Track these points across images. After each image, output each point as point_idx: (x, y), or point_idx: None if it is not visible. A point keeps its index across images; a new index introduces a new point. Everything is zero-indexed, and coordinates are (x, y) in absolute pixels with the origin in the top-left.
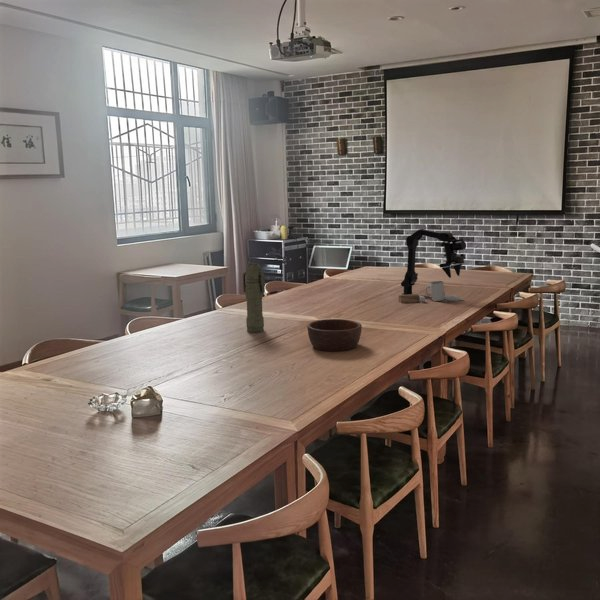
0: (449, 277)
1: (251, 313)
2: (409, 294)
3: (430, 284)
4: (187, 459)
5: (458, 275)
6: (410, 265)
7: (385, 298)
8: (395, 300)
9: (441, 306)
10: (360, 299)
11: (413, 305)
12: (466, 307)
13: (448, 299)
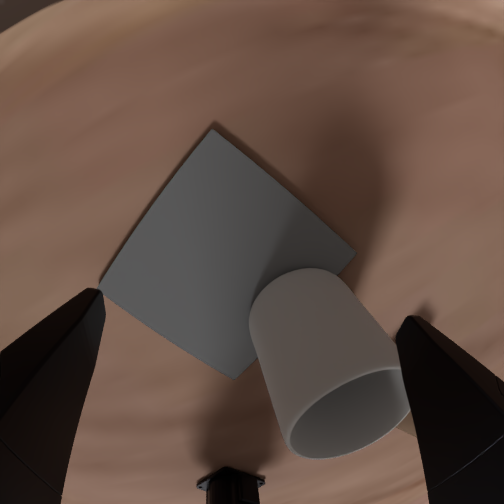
0: (410, 336)
1: None
2: (412, 432)
3: (390, 426)
4: None
5: (101, 302)
6: None
7: (360, 484)
8: (392, 447)
9: (476, 192)
10: (403, 497)
11: (485, 331)
12: (431, 36)
13: (261, 252)
